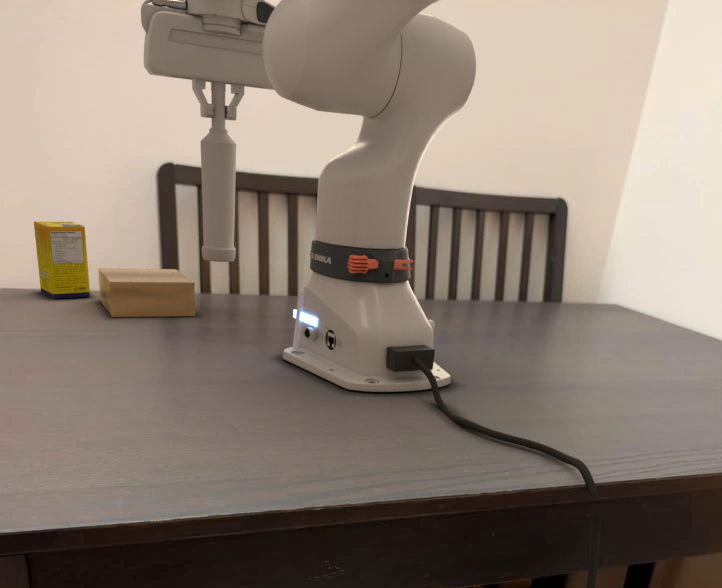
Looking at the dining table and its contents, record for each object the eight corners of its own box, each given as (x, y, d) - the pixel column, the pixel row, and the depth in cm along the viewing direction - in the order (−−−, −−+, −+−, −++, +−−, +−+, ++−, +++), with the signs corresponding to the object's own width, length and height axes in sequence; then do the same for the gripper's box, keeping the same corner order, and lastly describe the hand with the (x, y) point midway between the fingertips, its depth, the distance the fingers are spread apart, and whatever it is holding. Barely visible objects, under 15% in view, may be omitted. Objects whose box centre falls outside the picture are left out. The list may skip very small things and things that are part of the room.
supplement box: (76, 290, 120) (71, 221, 116) (91, 297, 116) (86, 225, 112) (39, 292, 116) (32, 220, 112) (52, 299, 112) (46, 225, 108)
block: (195, 316, 110) (194, 282, 108) (112, 317, 105) (109, 281, 103) (177, 300, 119) (176, 269, 117) (100, 300, 114) (98, 268, 112)
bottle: (200, 256, 114) (197, 75, 104) (233, 258, 116) (234, 80, 106) (203, 261, 110) (201, 72, 100) (238, 262, 111) (239, 77, 101)
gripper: (144, -11, 92) (149, 110, 98) (295, 15, 101) (292, 125, 107) (135, -4, 97) (140, 111, 103) (280, 20, 106) (277, 125, 112)
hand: (218, 118), depth 105 cm, fingers closed on bottle, 2 cm apart
